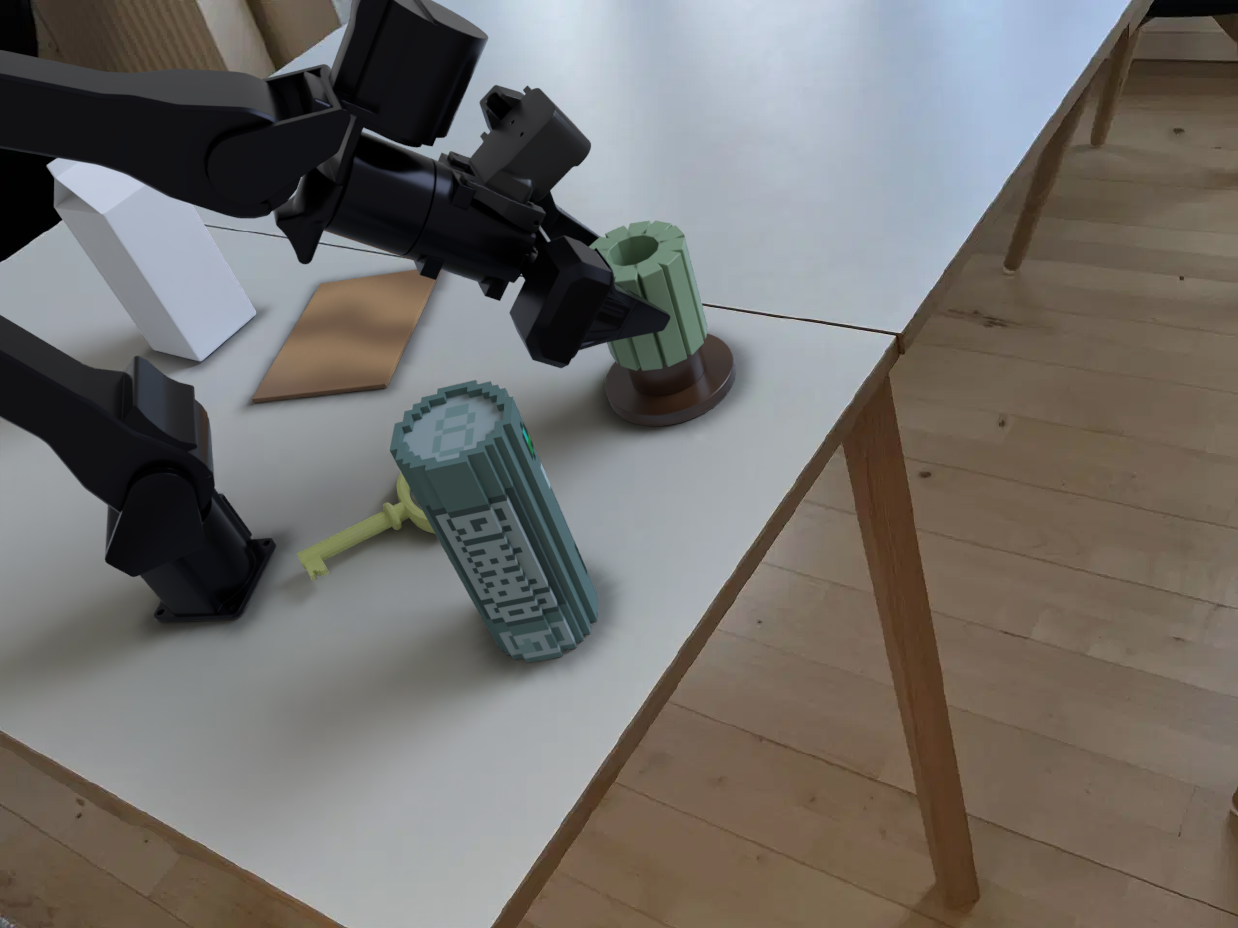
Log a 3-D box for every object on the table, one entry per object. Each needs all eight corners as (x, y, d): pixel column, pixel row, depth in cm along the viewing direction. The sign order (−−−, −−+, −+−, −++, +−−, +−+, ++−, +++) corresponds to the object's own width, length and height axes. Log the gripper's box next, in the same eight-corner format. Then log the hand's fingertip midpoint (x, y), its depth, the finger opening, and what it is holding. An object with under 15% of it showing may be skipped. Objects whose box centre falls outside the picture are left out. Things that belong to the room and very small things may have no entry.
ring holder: (730, 419, 69) (702, 307, 63) (598, 432, 72) (559, 325, 66) (740, 334, 75) (715, 225, 70) (619, 348, 78) (584, 244, 72)
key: (299, 580, 69) (284, 558, 67) (435, 459, 74) (423, 437, 73) (365, 624, 64) (350, 602, 63) (504, 492, 70) (493, 469, 68)
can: (596, 567, 63) (514, 370, 53) (597, 649, 58) (508, 451, 48) (498, 586, 64) (399, 397, 54) (492, 669, 59) (383, 479, 49)
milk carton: (258, 314, 96) (142, 120, 84) (201, 364, 92) (71, 168, 80) (210, 305, 100) (92, 118, 88) (154, 352, 96) (22, 163, 84)
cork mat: (387, 387, 82) (384, 383, 82) (253, 403, 86) (251, 399, 85) (442, 269, 93) (440, 265, 93) (322, 286, 97) (320, 283, 97)
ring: (702, 364, 68) (677, 273, 63) (603, 375, 70) (572, 288, 65) (711, 303, 72) (689, 214, 68) (618, 315, 74) (591, 229, 70)
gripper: (516, 131, 50) (768, 238, 58) (436, 26, 64) (648, 124, 72) (425, 332, 54) (671, 405, 63) (369, 193, 68) (575, 267, 77)
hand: (640, 288), depth 68 cm, fingers open, 9 cm apart
